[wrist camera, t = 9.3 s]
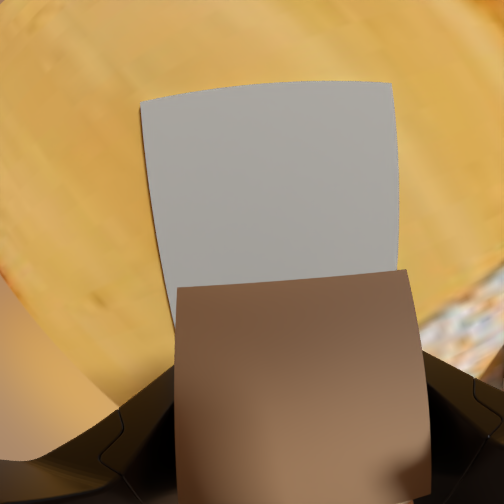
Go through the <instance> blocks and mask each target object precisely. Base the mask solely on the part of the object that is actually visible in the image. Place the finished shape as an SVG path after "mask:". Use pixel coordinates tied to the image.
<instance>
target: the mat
mask: <svg viewBox="0 0 504 504" xmlns="http://www.w3.org/2000/svg"><path fill="white" fill-rule="evenodd" d="M140 106H141V118H142V129H143V139H144V149H145V158H146V166H147V174H148V182H149V189H150V197H151V204H152V210H153V217H154V223H155V229H156V235H157V241H158V247H159V253H160V258H161V264H162V269H163V274H164V279H165V284H166V289H167V294H168V299H169V303H170V308H171V313H172V317H173V322H174V326H175V323H176V299H177V287H194V286H211V285H227V284H242V283H256V282H270V281H284V280H296V279H309V278H321V277H332V276H344V275H355V274H365V273H376V272H386V271H395V270H397V259H398V237H399V169H398V148H397V132H396V120H395V109H394V100H393V91H392V83H381V82H361V81H301V82H280V83H265V84H253V85H243V86H233V87H225V88H217V89H210V90H203V91H196V92H190V93H184V94H178V95H173V96H168V97H162V98H157V99H153V100H148V101H143V102H140Z"/></svg>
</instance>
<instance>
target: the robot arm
mask: <svg viewBox="0 0 504 504" xmlns="http://www.w3.org/2000/svg"><path fill="white" fill-rule="evenodd" d="M422 354H423V361H424V368H425V376H426V385H427V395H428V405H429V418H430V436H431V494H429V495H426V496H422V497H419V498H416V499H413V503H414V504H504V392H503V391H501V390H499V389H497V388H494V387H492V386H490V385H488V384H486V383H484V382H482V381H480V380H479V379H477V378H474V377H473V376H471V375H469V374H467V373H465V372H463V371H461V370H459V369H457V368H455V367H453V366H451V365H449V364H448V363H446V362H444V361H442V360H440V359H438V358H436V357H434V356H432V355H430V354H428V353H426V352H425V351H423V350H422ZM0 504H178V491H177V475H176V453H175V417H174V365H173V366H172V367H171V368H169V369H168V370H167V371H166V372H164V373H163V374H162V375H161V376H159V377H158V378H157V379H155V380H154V381H153V382H152V383H150V384H149V385H148V386H147V387H145V388H144V389H143V390H141V391H140V392H139V393H138V394H136V395H135V396H134V397H132V398H131V399H130V400H128V401H127V402H126V403H125V404H123V405H122V406H121V407H119V410H115V411H114V412H113V413H111V414H110V415H109V416H107V417H106V418H105V419H103V420H102V421H100V422H99V423H98V424H96V425H95V426H93V427H92V428H90V429H88V430H87V431H85V432H84V433H82V434H81V435H79V436H77V437H76V438H74V439H72V440H70V441H69V442H67V443H65V444H64V445H62V446H60V447H58V448H57V449H55V450H53V451H52V452H49V453H48V454H46V455H44V456H42V457H40V458H37V459H34V460H30V461H9V460H0Z"/></svg>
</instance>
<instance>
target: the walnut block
mask: <svg viewBox="0 0 504 504" xmlns="http://www.w3.org/2000/svg"><path fill="white" fill-rule="evenodd" d="M174 417H175V453H176V475H177V491H178V504H398V503H402V502H406V501H409V500H413V499H416V498H419V497H422V496H426V495H429V494H431V436H430V418H429V405H428V395H427V385H426V376H425V368H424V361H423V354H422V347H421V340H420V334H419V329H418V323H417V317H416V312H415V307H414V302H413V297H412V292H411V288H410V283H409V279H408V275H407V270H406V269H405V270H395V271H386V272H376V273H365V274H355V275H344V276H332V277H321V278H309V279H296V280H284V281H270V282H256V283H242V284H227V285H211V286H194V287H177V299H176V323H175V361H174Z"/></svg>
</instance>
